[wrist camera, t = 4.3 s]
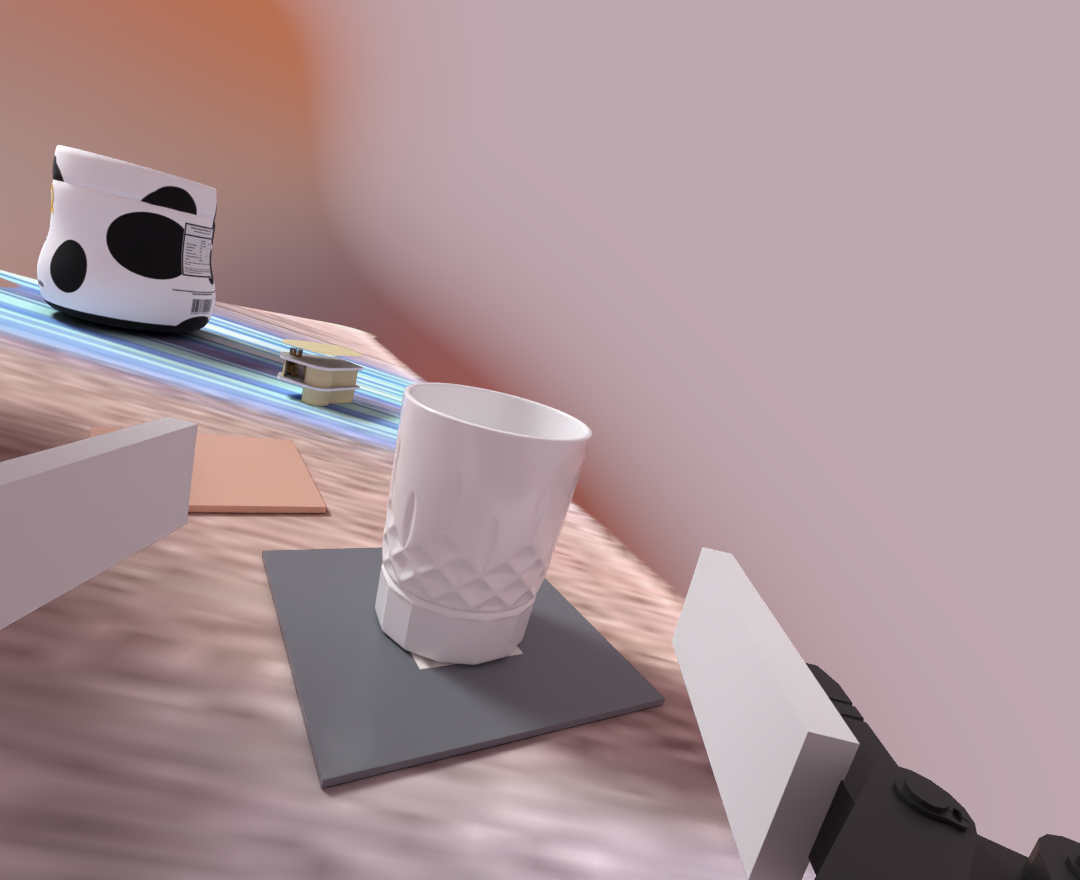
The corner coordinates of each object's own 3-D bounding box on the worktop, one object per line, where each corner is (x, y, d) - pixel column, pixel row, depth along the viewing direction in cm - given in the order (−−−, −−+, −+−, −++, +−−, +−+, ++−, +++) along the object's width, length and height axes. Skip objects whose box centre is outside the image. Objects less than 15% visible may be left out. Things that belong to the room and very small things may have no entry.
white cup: (431, 559, 31) (471, 380, 29) (561, 622, 29) (617, 428, 26) (320, 615, 24) (361, 384, 22) (478, 707, 21) (544, 451, 19)
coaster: (65, 511, 28) (65, 503, 28) (92, 432, 37) (92, 426, 37) (325, 513, 34) (326, 506, 34) (291, 445, 44) (292, 440, 44)
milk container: (40, 299, 72) (46, 144, 68) (200, 323, 83) (214, 191, 79) (29, 325, 59) (37, 136, 55) (221, 349, 70) (239, 193, 66)
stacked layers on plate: (325, 388, 66) (333, 340, 64) (382, 412, 62) (391, 361, 60) (241, 389, 57) (249, 333, 56) (301, 417, 53) (310, 358, 52)
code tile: (321, 788, 17) (322, 779, 17) (261, 556, 28) (262, 550, 28) (662, 704, 25) (664, 697, 25) (509, 548, 36) (511, 543, 36)
